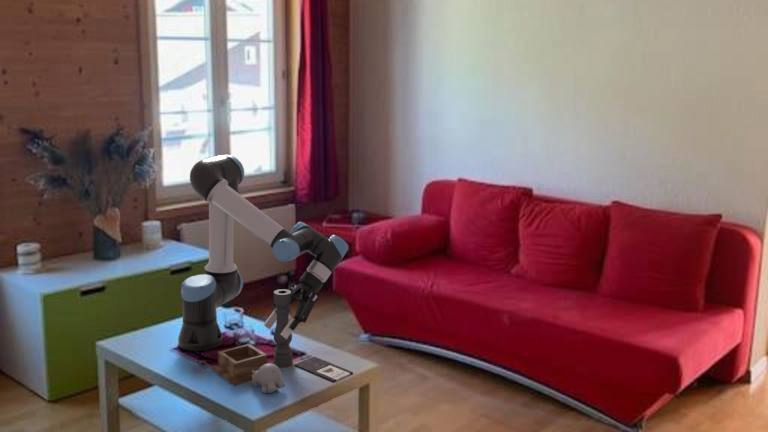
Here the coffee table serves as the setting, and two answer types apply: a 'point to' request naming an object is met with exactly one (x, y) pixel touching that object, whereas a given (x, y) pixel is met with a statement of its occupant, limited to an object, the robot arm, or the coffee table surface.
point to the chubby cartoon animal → (268, 378)
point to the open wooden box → (239, 363)
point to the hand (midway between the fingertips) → (274, 331)
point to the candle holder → (282, 328)
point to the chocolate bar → (323, 369)
